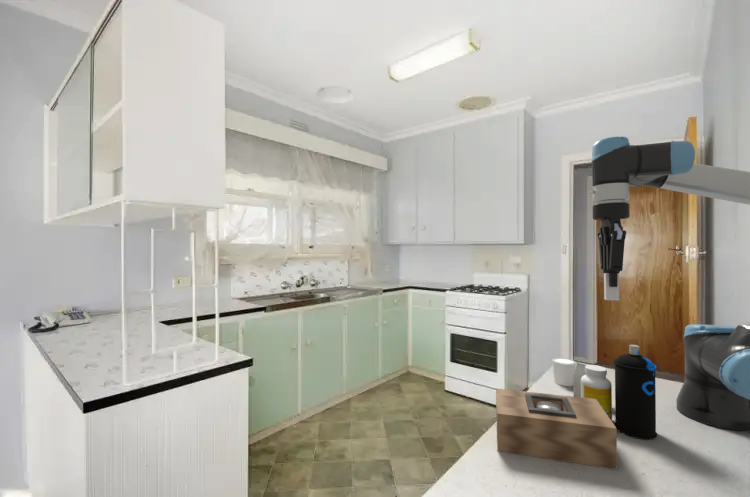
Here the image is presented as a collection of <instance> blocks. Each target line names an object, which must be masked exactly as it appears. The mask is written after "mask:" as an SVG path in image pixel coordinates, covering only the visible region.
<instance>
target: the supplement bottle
mask: <svg viewBox="0 0 750 497" xmlns="http://www.w3.org/2000/svg"><path fill="white" fill-rule="evenodd" d="M607 371H608V370H607V368H606V367H604V366H600V365H595V364H586V366H585V372H586V375H584V376H582V378H581V397H582V398H592V399H596V400H597V401H598V403H599V404H600V405H601V407H602V408H603V410H604V411H605V413H606V414H607V415H608V417H609V418H610V420H611V421H612V422H613V399H612V398H613V395H612V388H613V387H612V386H613V385H612V382H611V380H610V379H608V378H607V375H608V372H607Z"/></svg>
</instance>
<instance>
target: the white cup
mask: <svg viewBox="0 0 750 497" xmlns="http://www.w3.org/2000/svg"><path fill="white" fill-rule="evenodd" d="M551 363H552V364H551V365H552V366H551V367H552V374H553V382H554V383H555V384H557V385H560V386H563V387H573V377H574V373H575V369H576V364H577V361H575V360H573V359H570V358H565V357H553V358H552V359H551Z"/></svg>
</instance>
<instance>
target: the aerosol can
mask: <svg viewBox="0 0 750 497" xmlns="http://www.w3.org/2000/svg"><path fill="white" fill-rule="evenodd" d="M613 363H614V398H615V399H614V403H615V406H614V407H615V408H614V410H615V412H614V415H615V416H614V417H615V418H614V420H615V422H614V423H613V424H614V425H615V427H616V429H617V431H618V432H620V433H622V434H623V435H626V436H627V437H631V438H634V439H637V440H639V439H640V440H646V441H647V440H655V439H656V438H657V437H658V433H657V425H656V423H657V419H656V418H657V415H656V414H657V413H656V412H657V407H656V404H657V403H656V398H657V397H656V393H657V392H656V370H657V368H658V367H657V365H656V364H654V362H652V361H651V359H649V358H647V357H646V356H643V355H641V353H640V346H639V345H637V344H629V350H628V353H625V354H621V355H619V356H618V357H616V358H615V359H613Z"/></svg>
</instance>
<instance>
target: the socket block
mask: <svg viewBox="0 0 750 497" xmlns="http://www.w3.org/2000/svg"><path fill="white" fill-rule="evenodd" d="M540 401H548V402H553V403H556V404H558V405H559V406H560V407H561V411H558V410H550V409H541V408H536V403H537V402H540ZM495 410H496V412H495V413H496V414H495V415H496V416H495V418H496V422H497V423H496V424H495V425H496V444H497V451H498V452H504V453H509V454H517V455H523V456H529V457H536V458H541V459H548V460H555V461H560V462H561V461H562V462H567V463H568V462H569V463H574V464H580V465H586V466H593V467H594V466H595V467H599V468H607V469H614V470H618V459H617V458H618V454H617V453H618V452H617V450H618V448H617V445H618V444H617V442H618V441H617V440H618V439H617V438H618V437H617V436H618V435H617V433H618V432H617V431H618V430H617V429H616V427H615V425H614V423H613V420H612V421H611V420H610V418H609V417H608V415H607V414H606V413H605V411H604V410H603V408H602V407H601V405H600V404H599V403H598V401H597V400H596V399H592V398H582V397H574V396H571V395H562V394H552V393H543V392H534V391H533V392H532V391H524V390H523V391H522V390H516V389H515V390H513V389H505V388H504V389H503V388H495Z"/></svg>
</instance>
